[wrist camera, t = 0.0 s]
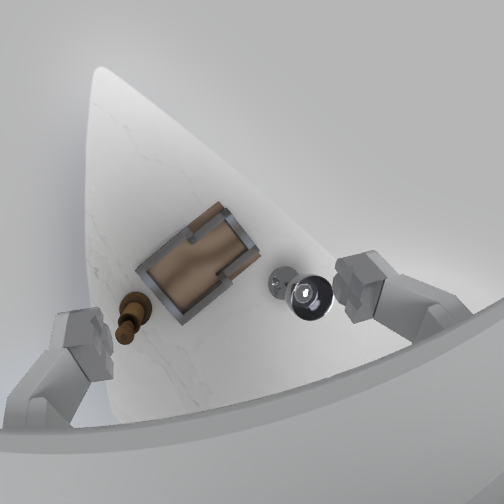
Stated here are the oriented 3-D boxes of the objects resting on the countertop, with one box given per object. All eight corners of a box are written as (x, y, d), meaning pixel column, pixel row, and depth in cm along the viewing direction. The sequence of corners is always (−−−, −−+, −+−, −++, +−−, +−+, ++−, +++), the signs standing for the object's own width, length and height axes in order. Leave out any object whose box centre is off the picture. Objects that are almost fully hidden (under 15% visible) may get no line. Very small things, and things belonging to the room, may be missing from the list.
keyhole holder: (260, 255, 67) (265, 257, 64) (181, 320, 64) (182, 325, 61) (218, 201, 64) (221, 200, 61) (136, 268, 61) (134, 270, 58)
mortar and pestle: (122, 289, 61) (104, 314, 44) (153, 294, 63) (145, 320, 45) (120, 321, 61) (102, 354, 44) (150, 325, 63) (143, 360, 46)
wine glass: (293, 258, 69) (324, 267, 54) (307, 290, 70) (339, 306, 56) (260, 275, 68) (284, 289, 53) (275, 307, 69) (301, 329, 54)
